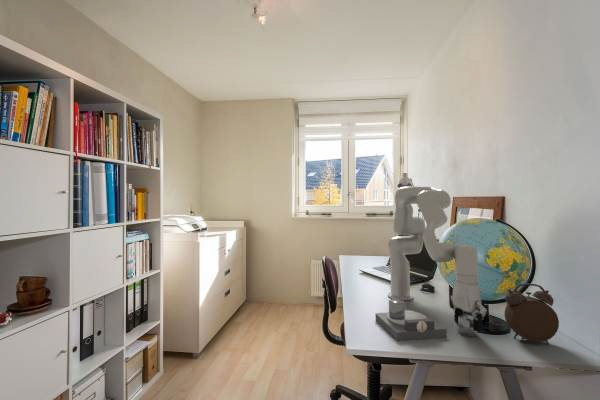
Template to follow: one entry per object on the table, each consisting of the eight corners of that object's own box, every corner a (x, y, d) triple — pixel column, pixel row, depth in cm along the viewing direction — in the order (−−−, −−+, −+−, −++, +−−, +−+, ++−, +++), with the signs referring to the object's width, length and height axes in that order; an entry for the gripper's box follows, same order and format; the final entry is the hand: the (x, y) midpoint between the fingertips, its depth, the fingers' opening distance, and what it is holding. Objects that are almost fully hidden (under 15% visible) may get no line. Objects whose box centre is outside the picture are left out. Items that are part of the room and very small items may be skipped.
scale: (375, 320, 122) (375, 305, 122) (418, 317, 125) (417, 303, 125) (397, 341, 103) (397, 323, 103) (447, 337, 105) (446, 320, 106)
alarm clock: (547, 338, 104) (545, 281, 105) (561, 348, 97) (559, 287, 98) (501, 335, 107) (500, 280, 108) (511, 344, 100) (510, 285, 100)
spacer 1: (386, 314, 117) (386, 299, 118) (400, 313, 118) (400, 298, 118) (393, 320, 112) (393, 304, 112) (408, 319, 112) (407, 303, 113)
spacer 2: (454, 331, 111) (454, 315, 111) (469, 330, 112) (468, 314, 112) (465, 338, 105) (465, 321, 105) (481, 336, 106) (480, 320, 106)
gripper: (442, 274, 117) (444, 317, 116) (474, 284, 100) (476, 335, 99) (459, 273, 118) (461, 316, 117) (493, 283, 101) (495, 334, 100)
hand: (468, 325), depth 108 cm, fingers open, 9 cm apart
